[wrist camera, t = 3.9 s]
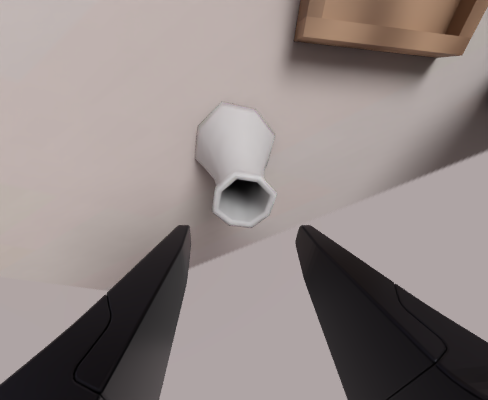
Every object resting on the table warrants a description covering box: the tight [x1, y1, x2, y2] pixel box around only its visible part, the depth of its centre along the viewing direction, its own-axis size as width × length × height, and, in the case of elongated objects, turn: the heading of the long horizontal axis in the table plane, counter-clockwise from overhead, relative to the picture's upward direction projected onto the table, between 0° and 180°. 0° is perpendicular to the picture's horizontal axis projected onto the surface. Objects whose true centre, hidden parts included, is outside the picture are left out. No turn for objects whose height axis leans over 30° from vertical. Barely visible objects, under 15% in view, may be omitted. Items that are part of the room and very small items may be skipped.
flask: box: [195, 102, 277, 228], centre depth 14 cm, size 7×7×10 cm
